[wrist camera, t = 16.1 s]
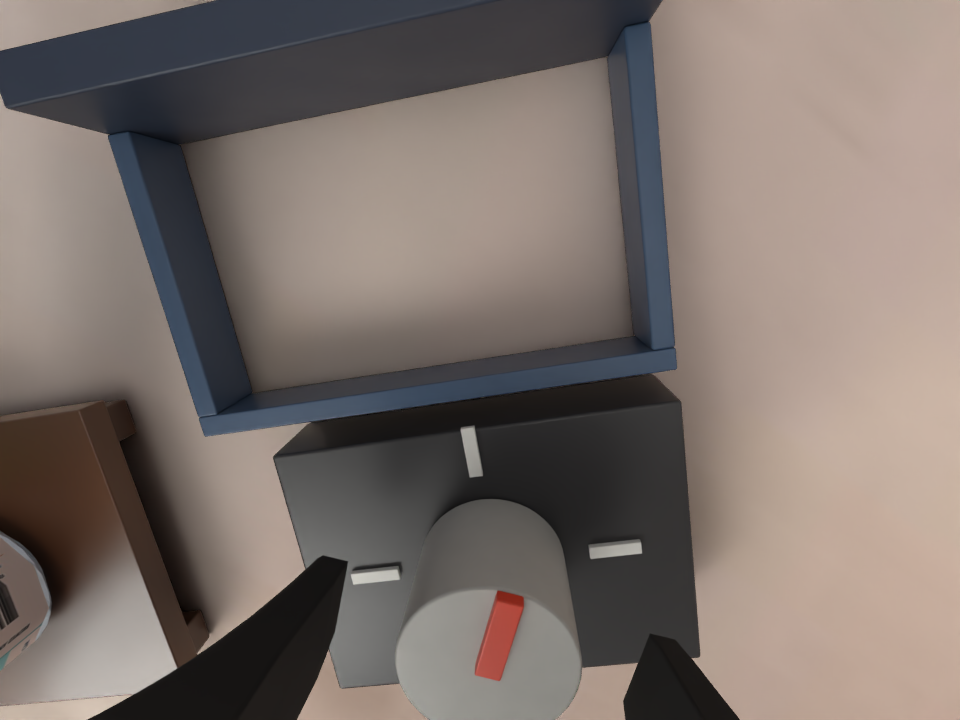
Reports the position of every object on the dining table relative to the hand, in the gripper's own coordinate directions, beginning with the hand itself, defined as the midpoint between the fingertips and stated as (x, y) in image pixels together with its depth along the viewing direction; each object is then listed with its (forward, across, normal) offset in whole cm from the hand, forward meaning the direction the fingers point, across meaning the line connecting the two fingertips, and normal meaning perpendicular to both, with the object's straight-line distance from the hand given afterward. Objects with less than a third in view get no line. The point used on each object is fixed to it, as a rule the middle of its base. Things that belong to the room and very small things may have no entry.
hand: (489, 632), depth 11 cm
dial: (+3, 0, 0) cm, 3 cm away
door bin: (+5, +4, -8) cm, 10 cm away
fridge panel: (+5, 0, 0) cm, 5 cm away
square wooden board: (+5, +15, +5) cm, 17 cm away
